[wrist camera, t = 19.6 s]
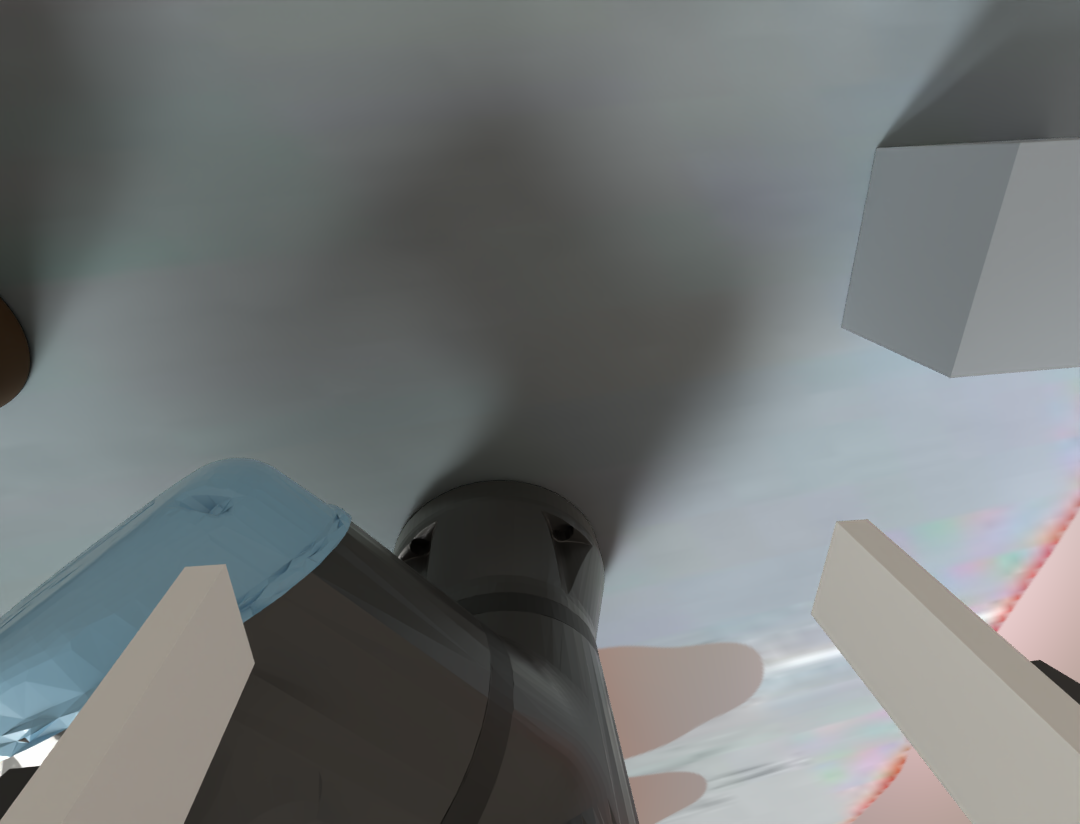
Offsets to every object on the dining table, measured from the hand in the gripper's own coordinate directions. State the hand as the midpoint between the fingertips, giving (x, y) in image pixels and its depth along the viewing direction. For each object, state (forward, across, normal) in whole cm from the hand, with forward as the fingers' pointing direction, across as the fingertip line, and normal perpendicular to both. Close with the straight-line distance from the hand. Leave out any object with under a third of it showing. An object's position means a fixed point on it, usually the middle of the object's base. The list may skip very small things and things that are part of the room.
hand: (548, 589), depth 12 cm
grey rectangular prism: (+21, -26, -5) cm, 34 cm away
